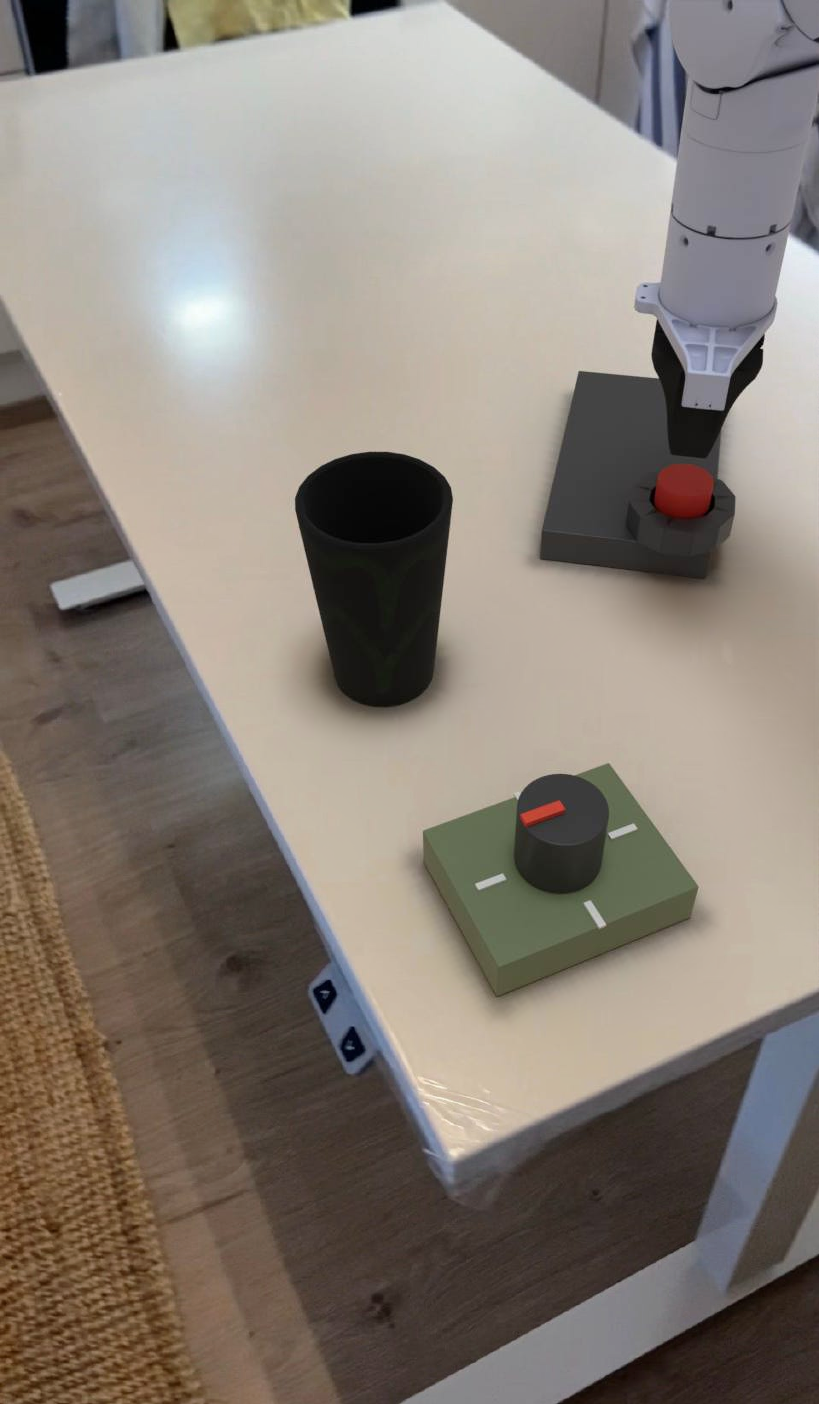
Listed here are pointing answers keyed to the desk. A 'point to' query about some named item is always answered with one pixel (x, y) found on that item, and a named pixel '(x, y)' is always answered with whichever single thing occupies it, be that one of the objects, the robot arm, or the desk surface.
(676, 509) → the power button
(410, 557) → the cup
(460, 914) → the panel
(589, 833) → the timer dial
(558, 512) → the power block
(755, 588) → the desk surface
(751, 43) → the robot arm
